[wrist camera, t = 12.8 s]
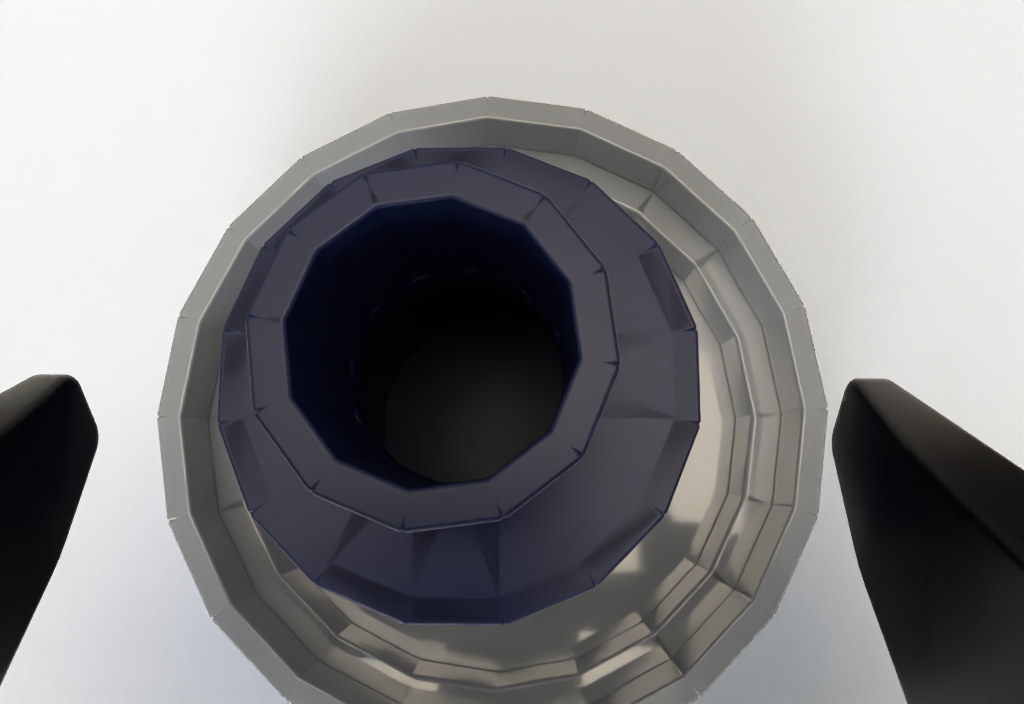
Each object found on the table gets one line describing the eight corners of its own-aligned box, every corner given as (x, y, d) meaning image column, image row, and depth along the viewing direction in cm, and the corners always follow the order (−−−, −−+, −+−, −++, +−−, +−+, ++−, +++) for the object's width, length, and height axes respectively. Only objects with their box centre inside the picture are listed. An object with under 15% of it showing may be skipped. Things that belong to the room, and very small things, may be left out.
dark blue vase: (560, 587, 18) (616, 800, 6) (336, 491, 19) (-10, 520, 7) (650, 361, 19) (854, 166, 7) (432, 273, 19) (273, -52, 7)
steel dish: (832, 662, 18) (895, 702, 15) (255, 761, 18) (197, 822, 15) (713, 117, 20) (747, 50, 17) (192, 206, 20) (129, 156, 17)
